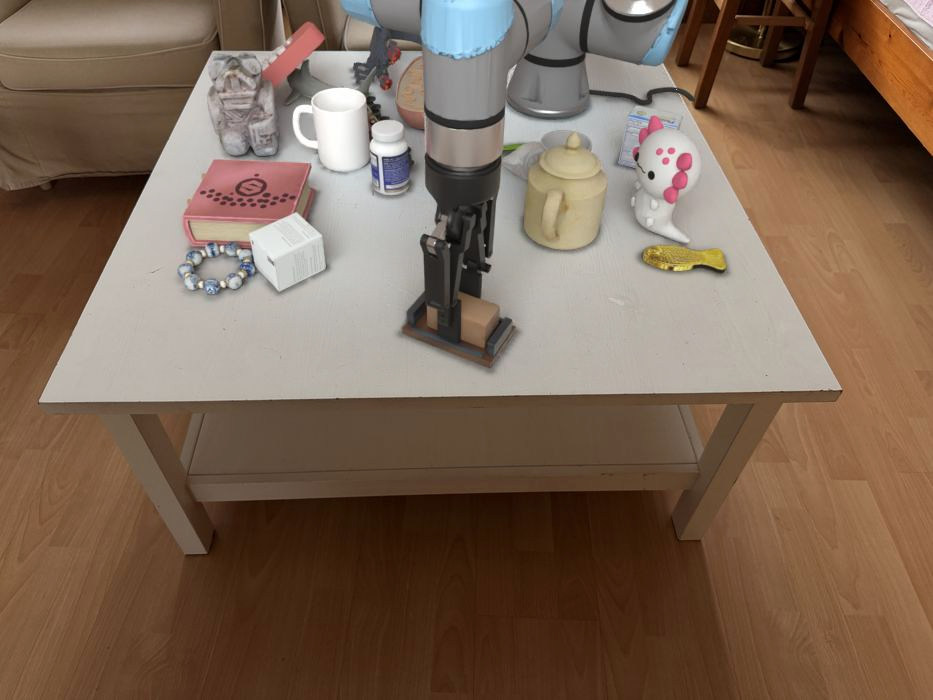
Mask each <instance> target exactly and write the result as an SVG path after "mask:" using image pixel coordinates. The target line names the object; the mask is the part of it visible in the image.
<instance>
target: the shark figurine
mask: <svg viewBox="0 0 933 700" xmlns="http://www.w3.org/2000/svg"><path fill="white" fill-rule="evenodd" d="M310 69H311V68H310V59H307V58H306V59H305V60H304V61H303V62H302V63H301V64H300V68H299V67H297V68H296V69H295V70H294V71H293V72H292V73H291V74H290V75H289V76H288V77H286V82H287V83H288V86H289V88H290V89H291V90H292V91H291V92H290V93H289V95H288V96H286V98H285V99H284V104H285V105H287V106H288V105H290V103H292V102H294V101H295V100H297V99H298V98H299V97H300V96H303V97H306V98H310V99H312V97H313V96H314V95H315V94H317V93H318V92H320V91H323V90H326V89H331V88H345V87H344V86H343V85H341V86H338V87H337V86H334V85H331V84H328V83H326V82H324V81H322V80H321V79H319V78H317V77H315V76H314V75H312V73H311V70H310ZM375 72H376V67H374V68H373V70H372V71H371V72H370V74H369V75H368V76H367V75H366V76H367V78H366V79H365V80H363V81H362V83H361V84H360V85H359V87H358V88H355V90H357V91H360V92H361V93H363V94H364V95H365V97H367V96H369V95H370V88H371V84H372V83H373V82H372V80H373V77H374V75H375Z"/></svg>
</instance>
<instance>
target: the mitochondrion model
mask: <svg viewBox="0 0 933 700" xmlns="http://www.w3.org/2000/svg"><path fill="white" fill-rule="evenodd" d="M394 100H395V106H396V109H397V113H398V115H399V117H400V118H401V120H403V122H404V123H406V124H407V125H409V126H410V127H411V128H414V129H418V130H425V120H424V118H423V112H424V82H423V58H422V55H421V56H418V57H417V56H416V57H415V58H414V59H412V60H411V61H410V62H409V64H408V65H407V67H406V68H405V69H404V70H403V71H402V73H401V75H400V76H399V79H398V81H397V85H396V91H395V99H394Z"/></svg>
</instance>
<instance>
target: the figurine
mask: <svg viewBox="0 0 933 700" xmlns="http://www.w3.org/2000/svg"><path fill="white" fill-rule="evenodd" d="M207 71H208V75H209V78H210V79H211V82H212V85H211V86H210V87H209V89H208V92H207V96H206V99H207V101H206V103H207V107H208V108H207V109H208V112H209V116H210V120H211V123H212V127H213V130H214V132H215V134H216V135H217V136H218V139H219V143H220V145H221V146H222V148H223V149H224V150H225V153H226V154H229V155H231V156H242V155H245V154H246V153H247V152H248V151H249V149H250V147H251V148H252V150H253V152H254V154H255V155H256V156H258V157H268V156H269V157H270V156H274V155H276V153H277V151H278V148H279V143H278V142H279V141H278V137H279V135H280V129H279V118H278V117H279V115H278V107H277V100H276V94H275V89H274V87H273V85H272V83H271V81H270V80H268V79H264V78H262V65H261V62H260V61H259V60H258V58H257V56H256V54H255V53H252V52H241V53H239V54H238V55H237V56H233V55H232V54H223V53H216V54H214V55H213V56H212V58H211V61H210V62H209V63H208V67H207Z"/></svg>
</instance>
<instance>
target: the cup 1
mask: <svg viewBox="0 0 933 700" xmlns="http://www.w3.org/2000/svg"><path fill="white" fill-rule="evenodd" d="M366 97H367V96H365V95H364V94H363V93H361V92H360V91H357V90H356V88H350V87H344V88H331V89H326V90H323V91H320V92H318V93H317V94H315V95H314V96H313V97H312V98H310V99H311V100H310V104H299V105H298V106H296V107H295V108H294V109H293V113H292V128H293V129H292V130H293V133H294V134H295V137H296V139H297V141H298V142H299V143H300V144H301V145H303V146H305V147H307V148H309V149H314V150H317V152H318V157H319V161H320V163H321V164H322V165H323V166H324V167H325V168H326V169H327V170H331V171H334V172H340V173H348V172H354V171H358V170H360V169H362V168H365V166H366V165H367V164H368V163H369V162H370V161H371V159H370V139H369V128H368V116H367V105H366ZM302 114H310V115H312V119H313V125H314V132H315V137H316V140H312V139H308V138H306V137H305V136H304V135H303V132H302V130H301V125H300V118H301V115H302Z"/></svg>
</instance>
